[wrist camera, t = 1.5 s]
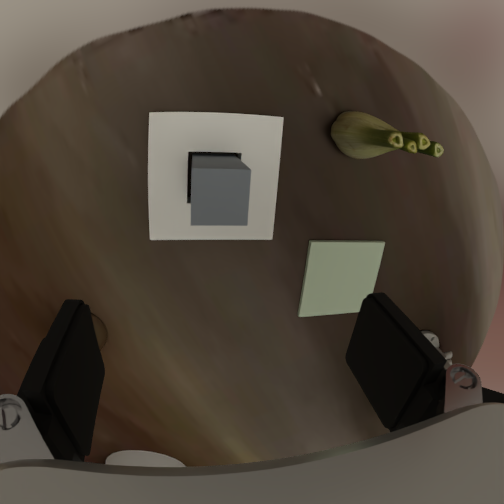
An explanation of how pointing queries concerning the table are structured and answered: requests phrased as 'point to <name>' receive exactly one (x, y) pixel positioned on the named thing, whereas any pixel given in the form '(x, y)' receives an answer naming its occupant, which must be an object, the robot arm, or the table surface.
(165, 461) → the grey stepped cylindrical piece
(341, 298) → the sage mat
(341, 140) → the fennel bulb
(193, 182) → the slate plug
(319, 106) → the table surface
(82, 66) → the table surface
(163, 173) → the white square hole board
